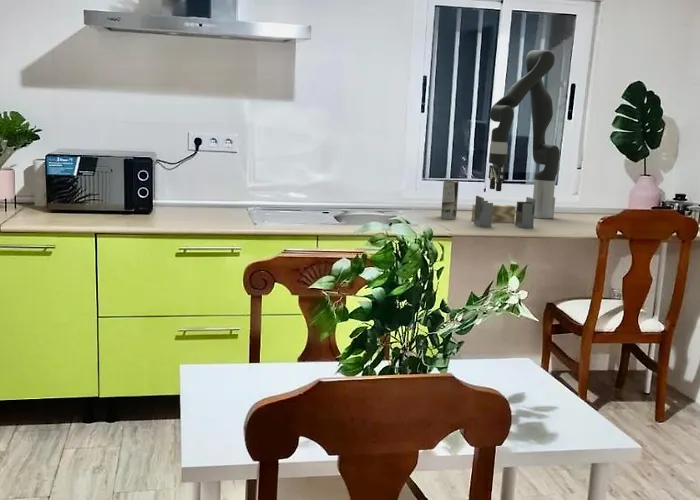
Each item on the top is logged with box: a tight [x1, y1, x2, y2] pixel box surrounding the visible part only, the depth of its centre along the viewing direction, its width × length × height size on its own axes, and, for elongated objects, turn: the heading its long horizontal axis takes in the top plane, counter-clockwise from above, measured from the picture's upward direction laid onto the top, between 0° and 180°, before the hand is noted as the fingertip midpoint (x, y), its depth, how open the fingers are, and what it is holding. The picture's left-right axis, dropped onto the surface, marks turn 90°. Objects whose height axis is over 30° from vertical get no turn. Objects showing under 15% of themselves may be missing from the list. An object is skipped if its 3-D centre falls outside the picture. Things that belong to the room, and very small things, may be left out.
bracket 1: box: [473, 195, 494, 228], centre depth 313 cm, size 5×8×12 cm, turn 7°
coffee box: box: [440, 180, 460, 220], centre depth 332 cm, size 9×6×16 cm
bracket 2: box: [514, 196, 536, 229], centre depth 315 cm, size 5×8×12 cm, turn 7°
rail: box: [471, 204, 517, 223], centre depth 328 cm, size 18×4×7 cm, turn 97°
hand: (495, 190), depth 326 cm, fingers open, 8 cm apart
